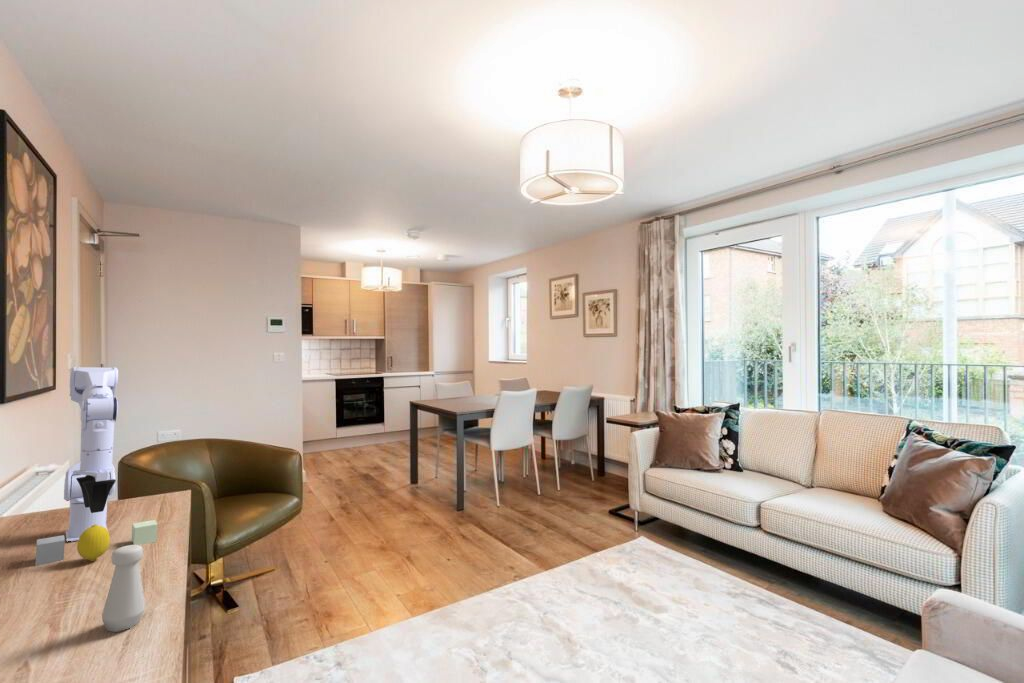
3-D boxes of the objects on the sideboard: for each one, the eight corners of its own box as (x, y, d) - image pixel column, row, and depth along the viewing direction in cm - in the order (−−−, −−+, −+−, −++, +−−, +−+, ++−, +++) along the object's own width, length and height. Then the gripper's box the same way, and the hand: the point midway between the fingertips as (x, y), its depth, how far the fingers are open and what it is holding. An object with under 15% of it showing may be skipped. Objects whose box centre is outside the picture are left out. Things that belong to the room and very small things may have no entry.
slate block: (35, 560, 109) (36, 539, 109) (63, 554, 112) (64, 535, 112) (35, 566, 105) (36, 545, 106) (63, 560, 108) (64, 540, 109)
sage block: (131, 542, 120) (132, 523, 120) (153, 537, 123) (154, 519, 124) (133, 547, 117) (134, 528, 117) (156, 542, 120) (157, 524, 120)
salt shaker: (96, 638, 78) (100, 556, 79) (106, 621, 83) (110, 544, 84) (141, 629, 81) (145, 550, 82) (147, 613, 86) (151, 539, 87)
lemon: (89, 567, 105) (92, 529, 105) (69, 564, 106) (71, 527, 106) (115, 557, 110) (117, 521, 111) (95, 555, 111) (97, 519, 112)
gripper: (69, 449, 115) (66, 507, 114) (79, 454, 106) (75, 518, 105) (108, 446, 121) (105, 502, 119) (120, 450, 111) (117, 511, 110)
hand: (94, 509), depth 112 cm, fingers open, 7 cm apart
